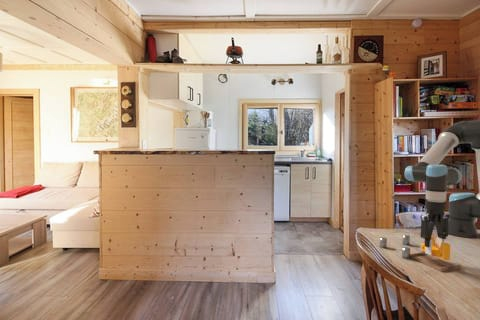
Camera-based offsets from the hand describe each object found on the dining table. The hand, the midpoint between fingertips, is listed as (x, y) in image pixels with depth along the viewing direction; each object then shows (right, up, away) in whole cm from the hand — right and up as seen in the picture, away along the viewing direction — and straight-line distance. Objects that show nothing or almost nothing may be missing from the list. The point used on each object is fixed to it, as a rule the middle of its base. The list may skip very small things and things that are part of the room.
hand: (433, 253), depth 132 cm
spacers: (-4, -3, +15) cm, 16 cm away
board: (0, -4, 0) cm, 4 cm away
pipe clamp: (0, 0, -1) cm, 1 cm away
